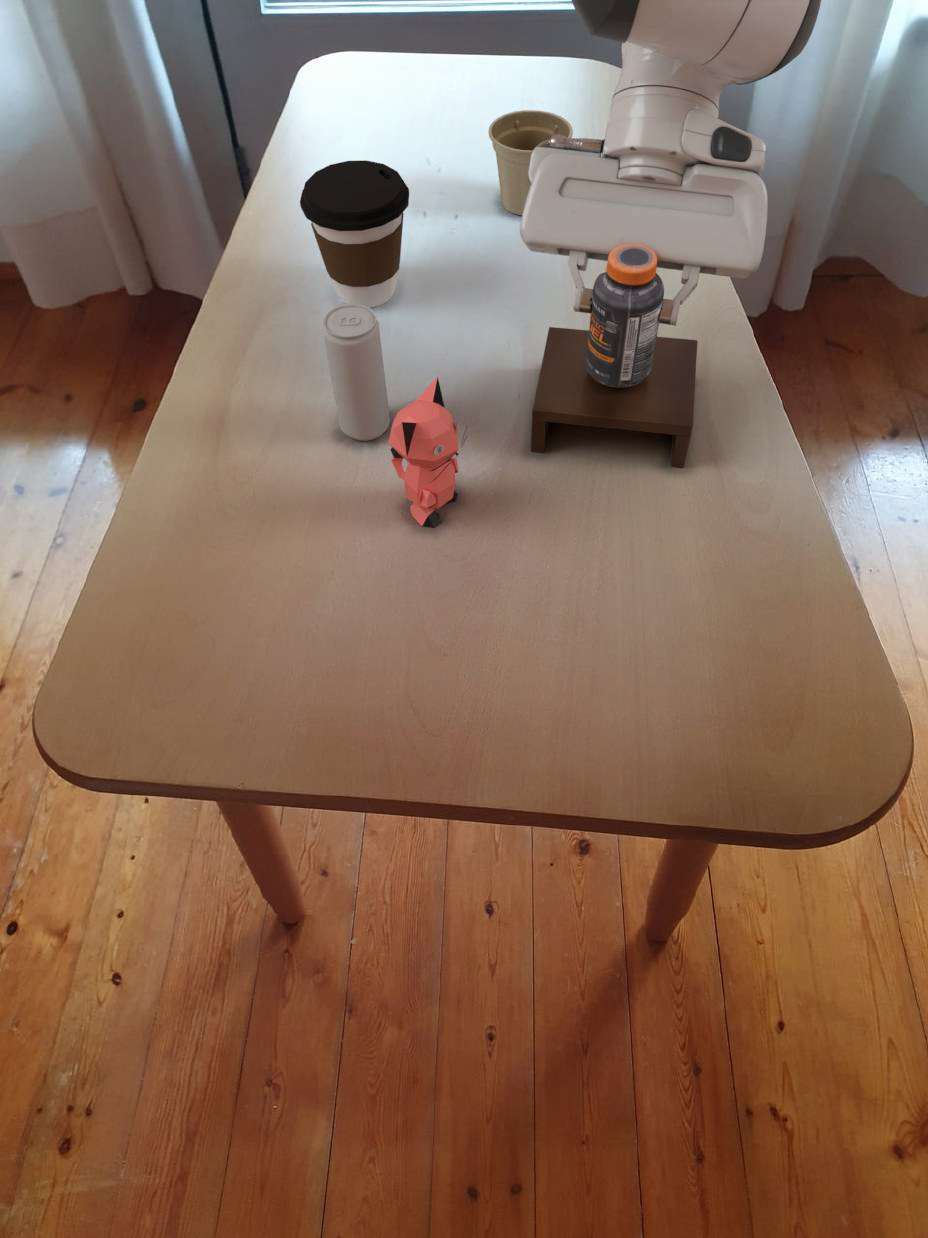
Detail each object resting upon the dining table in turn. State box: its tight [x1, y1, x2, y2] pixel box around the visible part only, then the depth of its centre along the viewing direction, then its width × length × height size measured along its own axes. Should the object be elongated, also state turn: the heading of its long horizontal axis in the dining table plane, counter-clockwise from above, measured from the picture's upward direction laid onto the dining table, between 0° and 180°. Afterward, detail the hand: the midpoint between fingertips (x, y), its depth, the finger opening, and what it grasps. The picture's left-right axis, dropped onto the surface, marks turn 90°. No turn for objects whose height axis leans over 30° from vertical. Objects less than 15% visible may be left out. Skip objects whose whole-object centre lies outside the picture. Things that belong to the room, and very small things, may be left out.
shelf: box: [530, 326, 698, 469], centre depth 88 cm, size 14×12×5 cm
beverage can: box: [322, 303, 391, 442], centre depth 85 cm, size 5×5×12 cm
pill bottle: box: [586, 244, 665, 387], centre depth 81 cm, size 6×6×11 cm
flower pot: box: [488, 109, 574, 216], centre depth 109 cm, size 9×9×9 cm
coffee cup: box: [299, 160, 410, 309], centre depth 98 cm, size 11×11×12 cm
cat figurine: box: [388, 376, 468, 529], centre depth 79 cm, size 7×7×12 cm
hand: (624, 317), depth 80 cm, fingers closed on pill bottle, 6 cm apart
